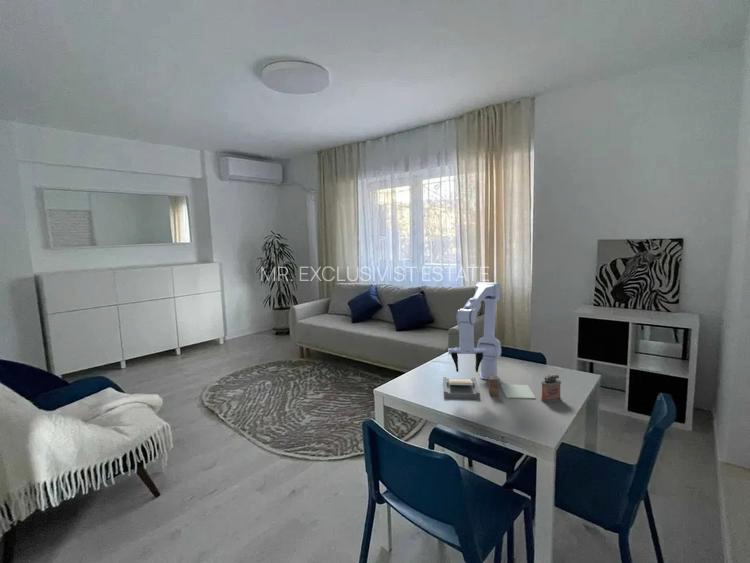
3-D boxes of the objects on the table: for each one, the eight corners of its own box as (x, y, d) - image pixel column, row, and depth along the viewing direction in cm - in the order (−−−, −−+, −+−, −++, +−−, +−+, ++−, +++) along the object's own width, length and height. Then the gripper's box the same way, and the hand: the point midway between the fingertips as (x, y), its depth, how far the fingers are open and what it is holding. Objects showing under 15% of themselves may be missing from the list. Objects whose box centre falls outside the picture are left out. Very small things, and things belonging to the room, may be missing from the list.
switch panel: (443, 382, 165) (443, 374, 164) (475, 383, 162) (475, 375, 162) (444, 397, 149) (444, 388, 148) (479, 398, 147) (479, 389, 146)
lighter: (545, 403, 140) (545, 378, 139) (539, 399, 144) (539, 375, 143) (562, 400, 143) (563, 375, 141) (556, 396, 146) (556, 372, 145)
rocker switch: (449, 380, 161) (448, 378, 161) (470, 381, 159) (470, 379, 159) (449, 384, 151) (449, 382, 151) (472, 385, 150) (472, 383, 150)
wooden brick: (488, 392, 152) (488, 376, 152) (496, 392, 152) (496, 376, 151) (490, 395, 149) (489, 379, 148) (498, 396, 149) (498, 379, 148)
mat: (500, 385, 159) (500, 384, 159) (527, 386, 157) (527, 385, 157) (506, 398, 146) (506, 396, 146) (535, 399, 145) (535, 397, 144)
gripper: (448, 341, 145) (449, 374, 146) (486, 341, 143) (486, 374, 144) (447, 336, 152) (448, 368, 153) (484, 336, 149) (484, 368, 151)
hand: (466, 371), depth 149 cm, fingers open, 7 cm apart
